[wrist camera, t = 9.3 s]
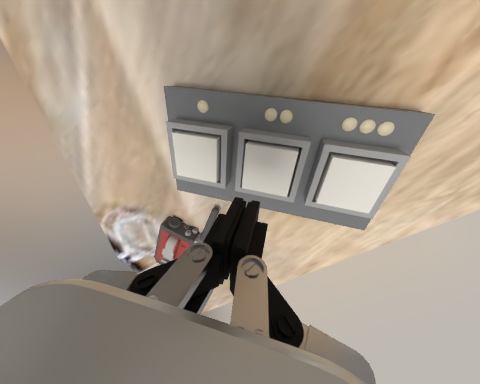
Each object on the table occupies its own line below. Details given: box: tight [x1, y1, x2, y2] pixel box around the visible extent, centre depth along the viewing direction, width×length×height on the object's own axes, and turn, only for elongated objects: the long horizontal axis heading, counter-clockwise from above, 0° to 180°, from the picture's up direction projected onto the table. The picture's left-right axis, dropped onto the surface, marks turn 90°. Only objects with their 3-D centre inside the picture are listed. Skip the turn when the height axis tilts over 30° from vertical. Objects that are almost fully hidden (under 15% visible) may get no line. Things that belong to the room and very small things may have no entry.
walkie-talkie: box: [154, 208, 218, 265], centre depth 32 cm, size 9×4×20 cm
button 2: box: [242, 140, 299, 197], centre depth 19 cm, size 5×5×2 cm
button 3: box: [315, 152, 396, 214], centre depth 18 cm, size 5×5×2 cm
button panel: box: [164, 86, 435, 230], centre depth 20 cm, size 13×25×4 cm, turn 85°
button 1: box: [172, 129, 221, 183], centre depth 20 cm, size 5×5×2 cm
